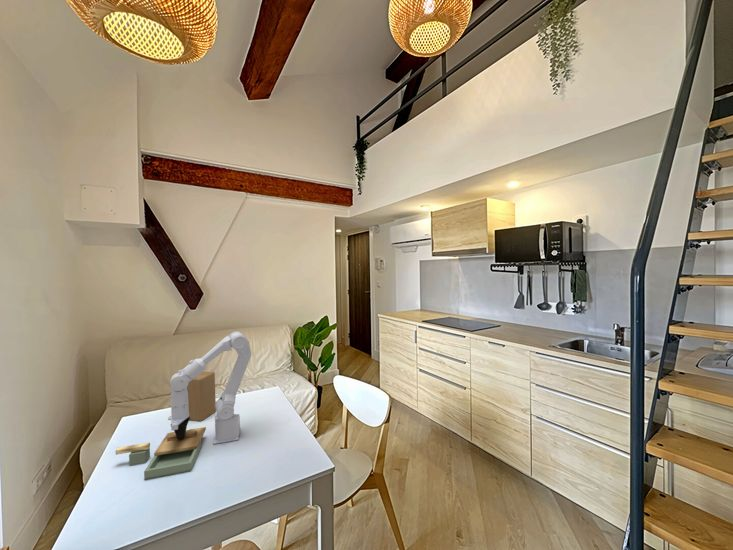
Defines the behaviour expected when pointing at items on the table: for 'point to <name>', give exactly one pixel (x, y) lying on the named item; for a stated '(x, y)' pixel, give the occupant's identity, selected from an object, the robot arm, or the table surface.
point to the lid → (180, 442)
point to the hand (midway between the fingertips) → (181, 438)
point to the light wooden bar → (132, 448)
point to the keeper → (139, 457)
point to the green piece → (171, 463)
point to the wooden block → (201, 396)
